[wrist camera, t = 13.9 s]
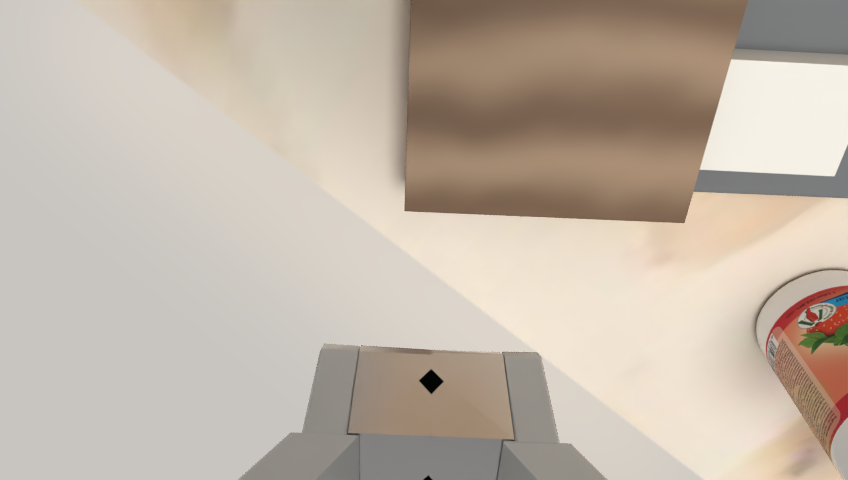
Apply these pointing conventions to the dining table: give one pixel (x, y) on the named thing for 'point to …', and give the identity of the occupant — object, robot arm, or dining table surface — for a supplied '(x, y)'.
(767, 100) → the tile
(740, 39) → the mat
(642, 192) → the board
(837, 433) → the fruit juice
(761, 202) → the dining table surface
